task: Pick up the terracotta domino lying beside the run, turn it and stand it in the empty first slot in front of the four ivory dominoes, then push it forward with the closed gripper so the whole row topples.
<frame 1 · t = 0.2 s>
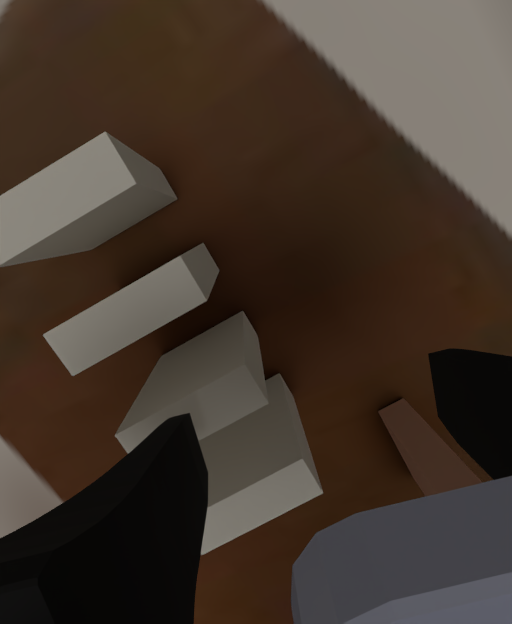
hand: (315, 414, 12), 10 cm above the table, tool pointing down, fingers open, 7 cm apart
ivory domino 1: (246, 406, 22), on the table
ivory domino 4: (125, 210, 19), on the table
ivory domino 2: (209, 346, 21), on the table
terracotta domino: (408, 439, 23), on the table
ivory domino 3: (168, 280, 20), on the table
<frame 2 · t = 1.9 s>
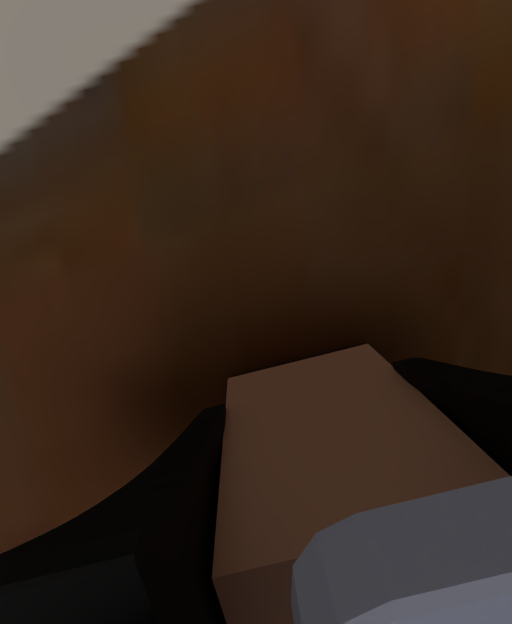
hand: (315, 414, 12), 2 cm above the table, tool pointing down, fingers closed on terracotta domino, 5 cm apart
terracotta domino: (302, 381, 14), on the table, touching gripper
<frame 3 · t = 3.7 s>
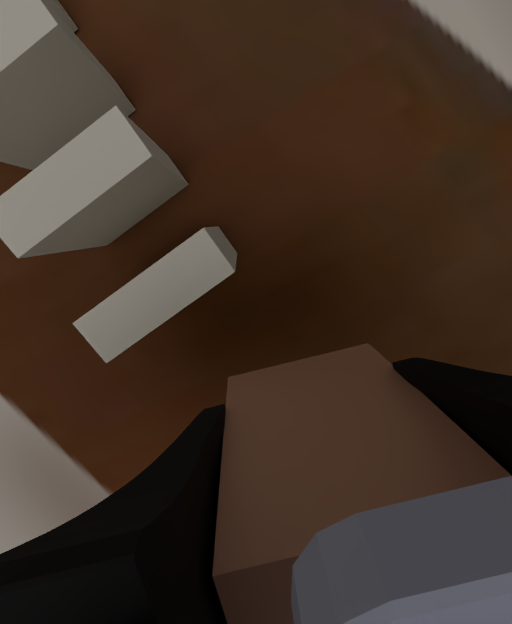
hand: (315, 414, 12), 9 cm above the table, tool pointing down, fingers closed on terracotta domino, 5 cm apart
ivory domino 1: (187, 269, 20), on the table
ivory domino 4: (22, 47, 18), on the table
ivory domino 2: (136, 201, 19), on the table
terracotta domino: (302, 381, 14), point 7 cm above the table, touching gripper
ivory domino 3: (82, 127, 18), on the table
when the fingers open (3 cm above the table, at t = 5.9 s): terracotta domino drops 1 cm, on the table.
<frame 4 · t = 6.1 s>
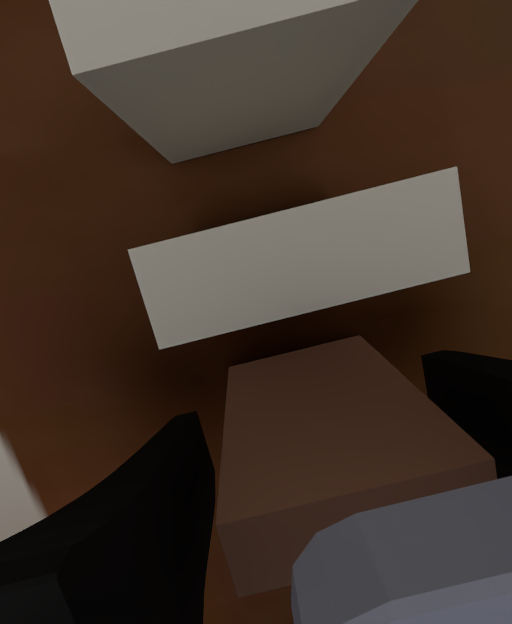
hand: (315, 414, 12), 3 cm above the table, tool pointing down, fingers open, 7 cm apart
ivory domino 1: (267, 240, 14), on the table
ivory domino 2: (238, 119, 13), on the table
terracotta domino: (298, 370, 15), on the table
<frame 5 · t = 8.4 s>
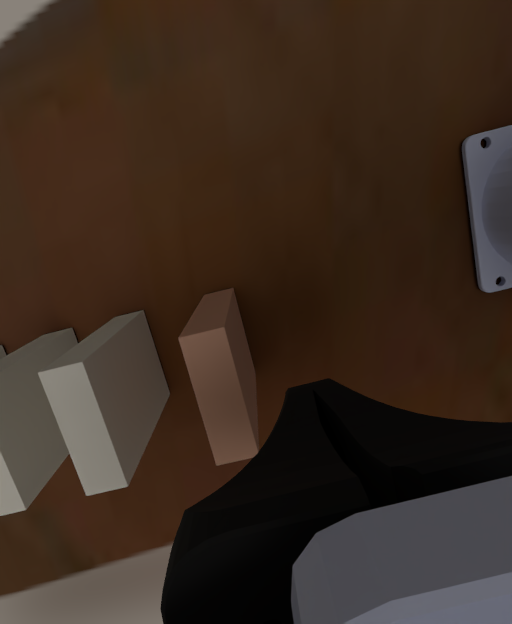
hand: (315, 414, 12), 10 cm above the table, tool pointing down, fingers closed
ivory domino 1: (143, 356, 22), on the table
ivory domino 2: (73, 373, 22), on the table
terracotta domino: (230, 335, 22), on the table
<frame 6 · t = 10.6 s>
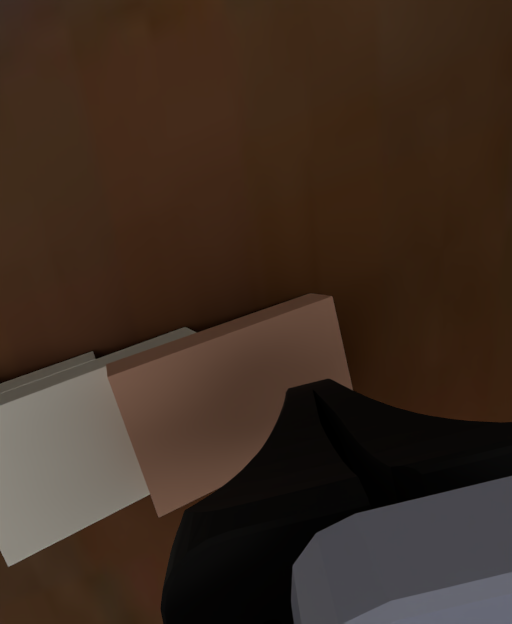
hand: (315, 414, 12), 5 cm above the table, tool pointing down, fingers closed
ivory domino 1: (209, 388, 16), point 1 cm above the table, tilted 66°, touching ivory domino 2
ivory domino 2: (115, 412, 16), point 1 cm above the table, tilted 67°, touching ivory domino 1
terracotta domino: (334, 355, 16), point 1 cm above the table, tilted 70°
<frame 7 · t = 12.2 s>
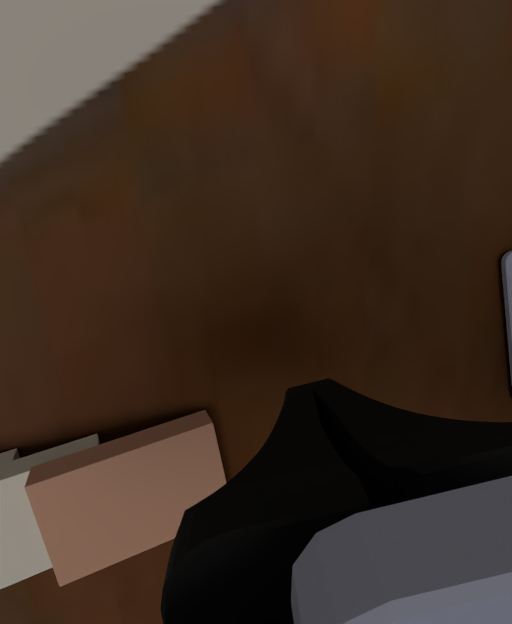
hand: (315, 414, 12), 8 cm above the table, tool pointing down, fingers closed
ivory domino 1: (109, 485, 20), point 1 cm above the table, tilted 68°, touching ivory domino 2, terracotta domino
terracotta domino: (218, 461, 20), point 1 cm above the table, tilted 72°, touching ivory domino 1
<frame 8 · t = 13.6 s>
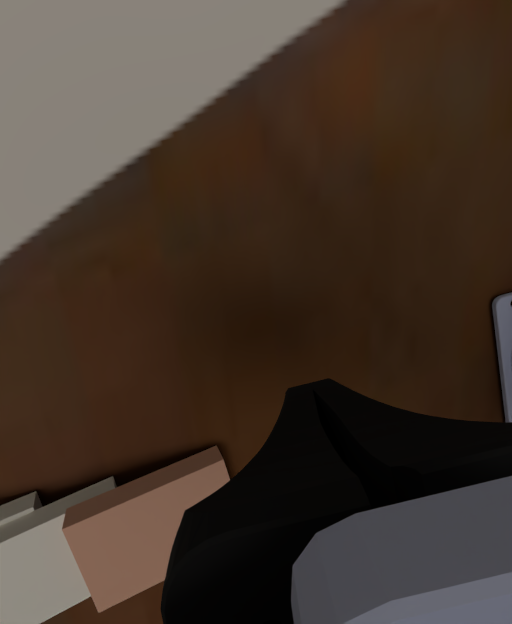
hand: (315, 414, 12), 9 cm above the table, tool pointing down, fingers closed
ivory domino 1: (128, 521, 22), point 1 cm above the table, tilted 68°, touching ivory domino 2, terracotta domino
ivory domino 2: (50, 537, 22), point 1 cm above the table, tilted 68°, touching ivory domino 1
terracotta domino: (232, 491, 22), point 1 cm above the table, tilted 73°, touching ivory domino 1
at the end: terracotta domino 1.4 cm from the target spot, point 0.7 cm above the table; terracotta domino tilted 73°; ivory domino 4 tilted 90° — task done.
